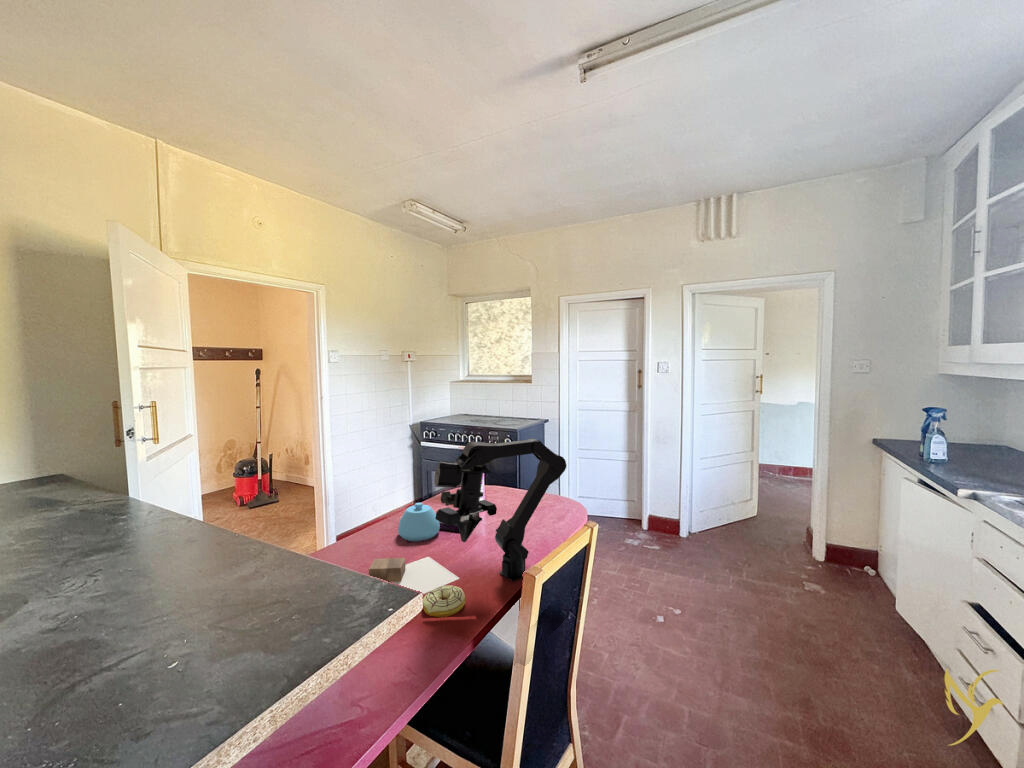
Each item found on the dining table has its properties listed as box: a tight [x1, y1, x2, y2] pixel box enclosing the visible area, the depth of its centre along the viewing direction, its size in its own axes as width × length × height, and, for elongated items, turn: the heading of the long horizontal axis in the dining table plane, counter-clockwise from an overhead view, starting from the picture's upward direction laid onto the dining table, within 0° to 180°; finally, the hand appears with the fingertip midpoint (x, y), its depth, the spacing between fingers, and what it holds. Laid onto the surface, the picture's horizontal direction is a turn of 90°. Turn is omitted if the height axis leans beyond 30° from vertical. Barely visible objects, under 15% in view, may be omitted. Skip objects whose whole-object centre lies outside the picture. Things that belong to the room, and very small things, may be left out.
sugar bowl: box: [397, 502, 441, 542], centre depth 148 cm, size 15×15×12 cm
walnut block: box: [368, 557, 406, 583], centre depth 117 cm, size 4×6×9 cm
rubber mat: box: [393, 556, 461, 595], centre depth 117 cm, size 16×18×1 cm
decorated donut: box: [422, 584, 466, 619], centre depth 103 cm, size 10×11×4 cm
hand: (463, 541), depth 114 cm, fingers closed
